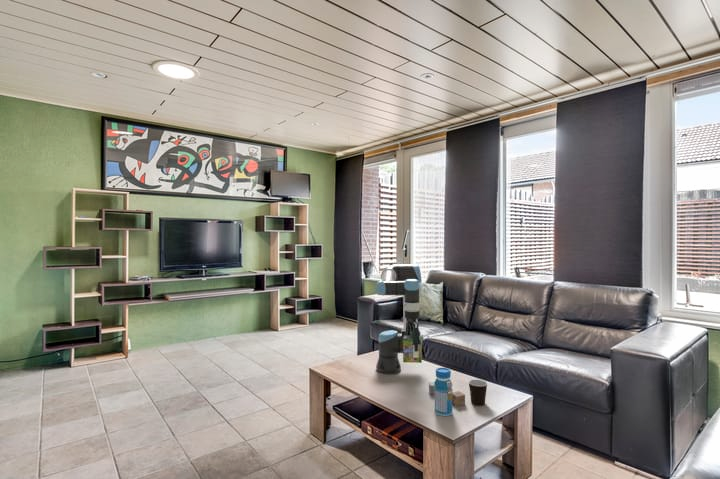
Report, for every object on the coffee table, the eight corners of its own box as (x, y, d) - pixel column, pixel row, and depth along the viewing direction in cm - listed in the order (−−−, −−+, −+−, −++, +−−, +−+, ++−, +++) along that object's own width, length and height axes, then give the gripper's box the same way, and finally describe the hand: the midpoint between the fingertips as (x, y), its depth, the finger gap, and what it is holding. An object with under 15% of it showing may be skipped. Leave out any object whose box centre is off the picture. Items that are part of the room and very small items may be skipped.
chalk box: (421, 363, 190) (421, 333, 189) (402, 362, 191) (402, 332, 191) (422, 357, 199) (421, 328, 198) (404, 356, 200) (403, 328, 200)
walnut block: (450, 402, 191) (450, 392, 190) (458, 400, 192) (458, 390, 192) (456, 406, 186) (456, 396, 186) (465, 404, 188) (464, 394, 188)
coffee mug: (484, 408, 184) (484, 387, 183) (466, 404, 188) (466, 384, 188) (490, 399, 193) (490, 379, 193) (473, 395, 198) (473, 376, 198)
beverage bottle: (436, 416, 176) (435, 373, 176) (432, 408, 184) (432, 366, 184) (454, 416, 176) (454, 372, 176) (450, 408, 184) (450, 366, 184)
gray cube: (428, 391, 205) (428, 381, 205) (438, 391, 204) (438, 381, 204) (430, 395, 200) (430, 385, 200) (439, 395, 199) (439, 385, 199)
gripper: (399, 306, 205) (399, 347, 206) (411, 315, 182) (411, 361, 183) (412, 305, 206) (413, 346, 207) (426, 314, 184) (426, 360, 184)
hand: (412, 353), depth 195 cm, fingers closed on chalk box, 11 cm apart
